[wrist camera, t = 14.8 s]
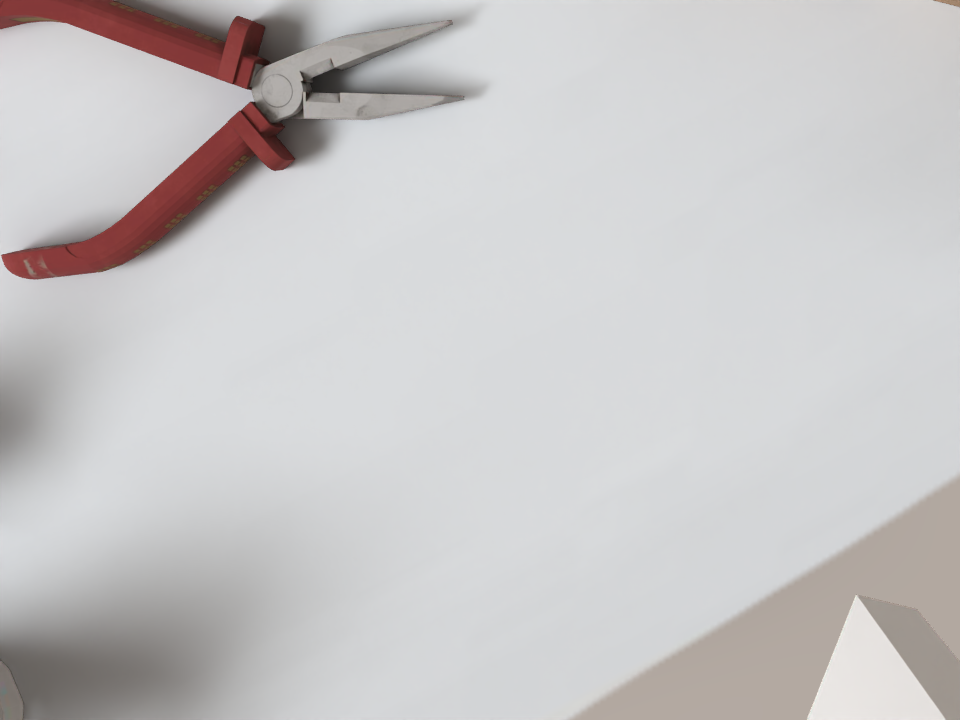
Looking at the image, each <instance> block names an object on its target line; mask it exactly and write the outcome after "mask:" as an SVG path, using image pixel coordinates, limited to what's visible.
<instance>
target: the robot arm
mask: <svg viewBox="0 0 960 720" xmlns="http://www.w3.org/2000/svg"><path fill="white" fill-rule="evenodd" d="M807 720H960V661H959V660H958V658H957V657H956V656H955V655H954V653H953V652H952V651H951V650H950V649H949V647H948V646H947V645H946V644H945V643H944V641H943V640H942V639H941V638H940V637H939V635H938V634H937V633H936V632H935V630H934V629H933V628H932V627H931V626H930V624H929V623H928V622H927V621H926V619H925V618H924V617H923V616H922V615H921V613H920V612H919V611H918V610H917V609H915V608H911V607H906V606H902V605H898V604H894V603H890V602H885V601H881V600H877V599H873V598H869V597H864V596H860V595H856V596H855V599H854V602H853V604H852V607H851V609H850V612H849V614H848V617H847V619H846V622H845V624H844V627H843V629H842V632H841V635H840V637H839V640H838V642H837V645H836V647H835V650H834V652H833V655H832V657H831V660H830V663H829V665H828V667H827V670H826V672H825V675H824V678H823V680H822V683H821V685H820V688H819V690H818V693H817V695H816V698H815V700H814V703H813V705H812V708H811V711H810V713H809V716H808V718H807Z"/></svg>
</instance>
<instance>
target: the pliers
mask: <svg viewBox="0 0 960 720" xmlns="http://www.w3.org/2000/svg"><path fill="white" fill-rule="evenodd" d="M40 21H54V22H62V23H68V24H70V25H73V26H76V27H79V28H81V29H84V30H87V31H89V32H92V33H95V34H98V35H100V36H103V37H106V38H109V39H111V40H114V41H117V42H119V43H122V44H125V45H128V46H130V47H133V48H136V49H138V50H141V51H144V52H147V53H149V54H152V55H155V56H157V57H160V58H163V59H166V60H168V61H171V62H174V63H177V64H179V65H182V66H185V67H187V68H190V69H193V70H196V71H198V72H201V73H204V74H206V75H209V76H212V77H215V78H217V79H220V80H222V81H225V82H228V83H230V84H234V85H237V86H240V87H242V88H245V89H249V90H252V95H253V98H254V100H255V102H250V103H249V104H247V105H246V106H245V107H244V108H243V109H242V110H241V111H239V112H237V113H236V114H235V115H234V116H233V117H232V118H231V119H230V120H229V121H228V123H226V124H225V125H224V126H223V127H222V128H221V129H220V130H219V131H218V132H217V133H215V134H214V135H213V136H212V137H211V138H210V139H209V140H208V141H207V142H206V143H204V144H203V145H202V146H201V147H200V148H199V149H198V150H197V151H196V152H195V153H193V154H192V155H191V156H190V157H189V158H188V159H187V160H186V161H185V162H184V163H182V164H181V165H180V166H179V167H178V168H177V169H176V170H175V171H174V172H173V173H171V174H170V175H169V176H168V177H167V178H166V179H165V180H164V181H163V182H162V183H160V184H159V185H158V186H157V187H156V188H155V189H154V190H153V191H152V192H151V193H149V194H148V195H147V196H146V197H145V198H144V199H143V200H142V201H141V202H140V203H138V204H137V205H136V206H135V207H134V208H133V209H132V210H131V211H130V212H129V213H127V214H126V215H125V216H124V217H123V218H122V219H121V220H119V221H118V222H117V223H115V224H114V225H113V226H112V227H110V228H108V229H107V230H105V231H104V232H102V233H101V234H99V235H97V236H95V237H93V238H91V239H89V240H86V241H83V242H76V243H69V244H62V245H54V246H47V247H41V248H34V249H27V250H21V251H16V252H11V253H7V254H3V255H1V256H2V260H3V262H4V265H5V267H6V268H7V269H8V270H9V271H10V272H11V273H13V274H15V275H17V276H19V277H22V278H26V279H44V278H53V277H61V276H70V275H78V274H87V273H95V272H103V271H106V270H109V269H111V268H114V267H117V266H120V265H122V264H124V263H126V262H128V261H129V260H131V259H133V258H135V257H136V256H138V255H139V254H141V253H142V252H144V251H145V250H146V249H148V248H149V247H151V246H152V245H153V244H155V243H156V242H157V241H159V240H160V239H161V238H162V237H163V236H164V235H165V234H167V233H168V232H169V231H170V230H171V229H172V228H173V227H174V226H176V225H177V224H178V223H179V222H180V221H181V220H182V219H183V218H185V217H186V216H187V215H188V214H189V213H190V212H191V211H192V210H194V209H195V208H196V207H197V206H198V205H199V204H200V203H201V202H203V201H204V200H205V199H206V198H207V197H208V196H209V195H210V194H211V193H213V192H214V191H215V190H216V189H217V188H218V187H219V186H220V185H222V184H223V183H224V182H225V181H226V180H227V179H228V178H229V177H231V176H232V175H233V174H234V173H235V172H236V171H237V170H238V169H240V168H241V167H242V166H243V165H244V164H245V163H246V162H247V161H249V160H250V159H251V158H252V157H253V156H254V155H255V154H256V155H257V157H258V158H259V159H260V160H261V161H262V162H263V163H264V164H265V165H266V166H267V167H269V168H270V169H271V170H274V171H277V170H284V169H285V168H286V167H287V166H288V165H289V164H290V163H292V162H293V161H294V160H295V158H294V157H293V156H292V155H291V153H290V152H289V151H288V150H287V149H286V147H285V146H284V145H283V144H282V143H281V141H280V140H279V139H278V138H277V137H276V135H277V134H278V133H279V132H280V131H281V130H282V129H283V128H284V127H285V126H284V125H283V124H282V122H281V120H284V119H286V118H290V119H343V120H370V119H375V118H379V117H384V116H389V115H394V114H398V113H403V112H408V111H413V110H418V109H422V108H427V107H432V106H437V105H441V104H446V103H451V102H456V101H460V100H464V96H439V95H402V94H367V93H312V88H311V85H310V83H313V80H312V77H315V76H317V75H319V74H322V73H324V72H326V71H329V70H331V69H334V68H336V69H339V70H342V71H343V70H345V69H347V68H350V67H352V66H355V65H357V64H360V63H362V62H364V61H367V60H369V59H372V58H374V57H376V56H379V55H381V54H383V53H386V52H388V51H391V50H393V49H395V48H398V47H400V46H402V45H405V44H407V43H409V42H412V41H414V40H416V39H419V38H421V37H423V36H426V35H428V34H430V33H433V32H435V31H437V30H440V29H442V28H445V27H447V26H449V25H452V24H453V23H452V20H447V21H441V22H434V23H427V24H420V25H413V26H406V27H400V28H393V29H386V30H379V31H372V32H365V33H358V34H352V35H346V36H342V37H339V38H336V39H333V40H330V41H328V42H325V43H322V44H320V45H317V46H314V47H312V48H309V49H307V50H304V51H301V52H299V53H296V54H294V55H292V56H289V57H287V58H284V59H282V60H279V61H277V62H275V63H272V64H270V65H269V63H270V62H269V61H268V60H266V59H263V58H260V57H258V52H259V48H260V44H261V41H262V37H263V34H264V30H265V27H264V26H263V25H260V24H258V23H256V22H253V21H251V20H248V19H245V18H243V17H240V16H237V17H235V19H234V20H233V22H232V24H231V26H230V29H229V32H228V36H227V39H226V42H224V41H221V40H218V39H216V38H213V37H210V36H207V35H205V34H202V33H199V32H197V31H194V30H191V29H188V28H186V27H183V26H180V25H178V24H175V23H172V22H170V21H167V20H164V19H161V18H159V17H156V16H153V15H151V14H148V13H145V12H142V11H140V10H137V9H134V8H132V7H129V6H126V5H123V4H121V3H118V2H115V1H113V0H0V29H3V28H8V27H12V26H16V25H20V24H24V23H31V22H40Z"/></svg>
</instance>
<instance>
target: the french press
mask: <svg viewBox="0 0 960 720" xmlns="http://www.w3.org/2000/svg"><path fill="white" fill-rule="evenodd" d="M0 720H23V701H22V698H21V696H20V693H19V691H18V689H17V686H16V684H15V681H14V679H13V677H12V674H11V672H10V670H9V669H8V668H7V666H6V665H5V664H4V663H3V662H2V661H1V660H0Z"/></svg>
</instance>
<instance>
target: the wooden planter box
mask: <svg viewBox="0 0 960 720" xmlns="http://www.w3.org/2000/svg"><path fill="white" fill-rule="evenodd" d="M934 1H938V2H942V3H946V4H950V5H954V6H958V7H960V0H934Z"/></svg>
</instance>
